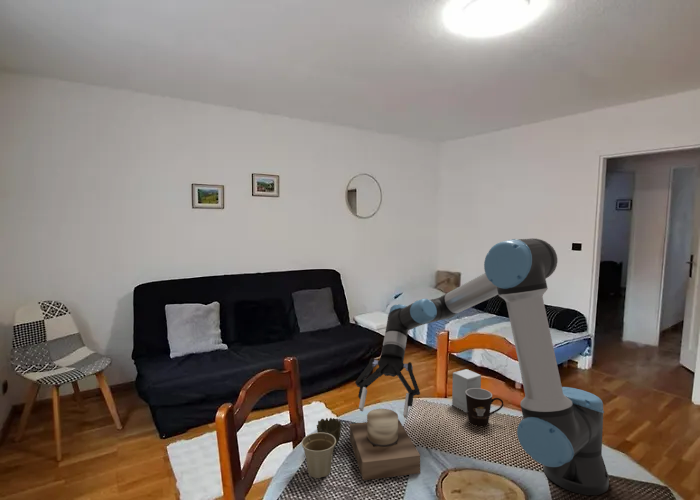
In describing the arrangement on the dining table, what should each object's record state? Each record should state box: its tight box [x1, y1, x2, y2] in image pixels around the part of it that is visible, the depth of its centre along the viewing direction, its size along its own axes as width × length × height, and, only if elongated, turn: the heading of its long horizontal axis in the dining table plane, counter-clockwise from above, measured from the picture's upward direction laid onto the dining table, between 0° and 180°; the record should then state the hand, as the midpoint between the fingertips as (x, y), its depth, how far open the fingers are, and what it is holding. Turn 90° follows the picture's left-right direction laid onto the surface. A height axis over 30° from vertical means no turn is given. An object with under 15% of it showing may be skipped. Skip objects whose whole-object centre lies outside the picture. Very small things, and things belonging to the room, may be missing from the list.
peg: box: [366, 408, 399, 447], centre depth 114 cm, size 9×9×11 cm
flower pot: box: [301, 432, 337, 479], centre depth 107 cm, size 9×9×9 cm
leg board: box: [349, 418, 421, 481], centre depth 114 cm, size 20×16×5 cm
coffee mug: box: [466, 388, 504, 427], centre depth 131 cm, size 12×9×10 cm
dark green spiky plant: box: [316, 417, 342, 451], centre depth 117 cm, size 8×7×8 cm
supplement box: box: [451, 368, 482, 414], centre depth 143 cm, size 7×7×13 cm
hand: (382, 413), depth 116 cm, fingers open, 13 cm apart
